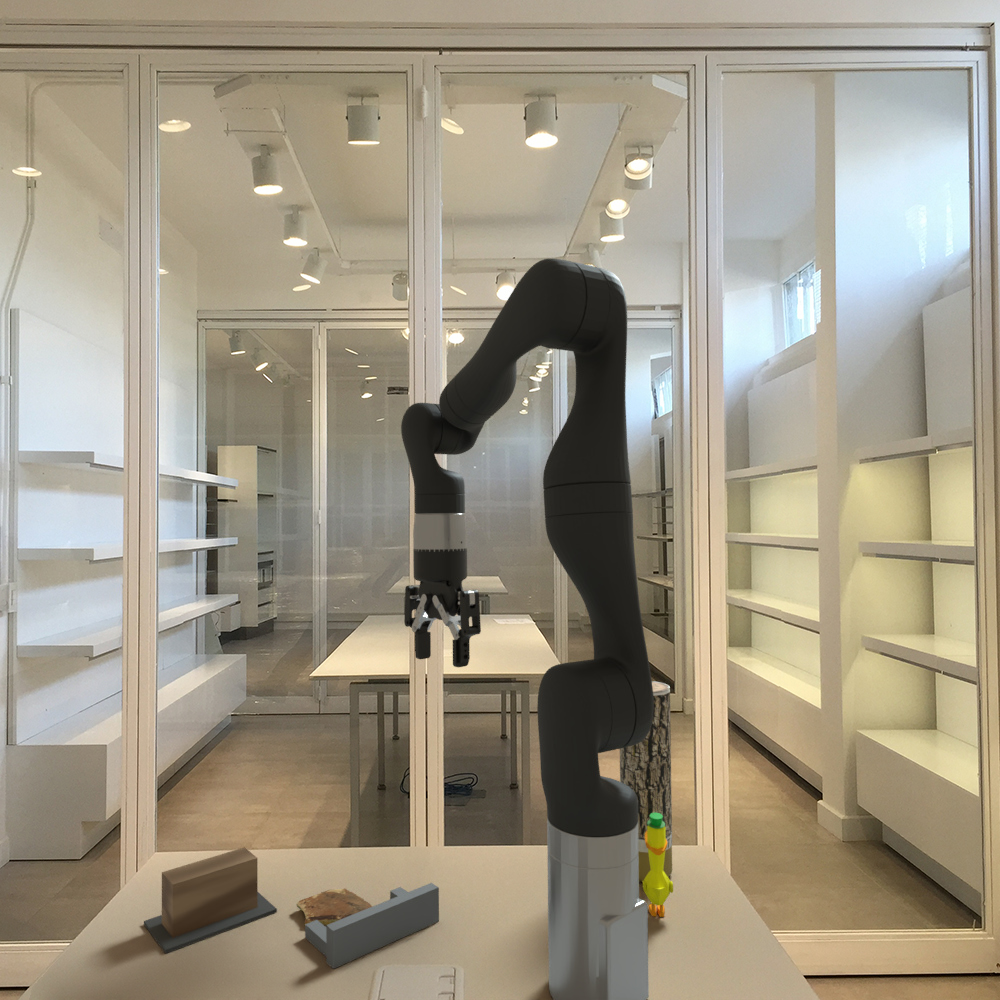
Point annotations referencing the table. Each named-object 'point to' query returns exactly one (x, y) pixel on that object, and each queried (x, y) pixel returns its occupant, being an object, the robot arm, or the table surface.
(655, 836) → the toy figure
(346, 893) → the shard
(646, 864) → the bark log stump
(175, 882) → the block
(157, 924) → the rest mat
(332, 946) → the dock
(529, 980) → the table surface
